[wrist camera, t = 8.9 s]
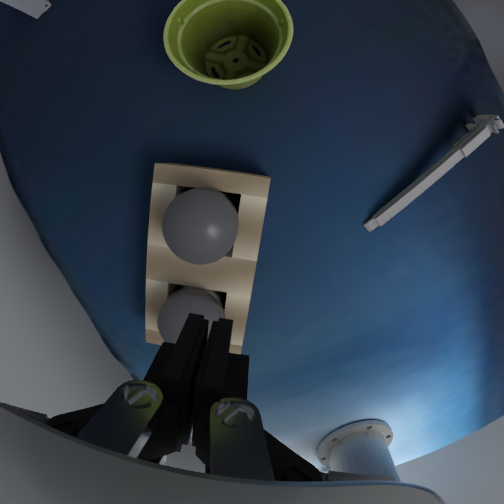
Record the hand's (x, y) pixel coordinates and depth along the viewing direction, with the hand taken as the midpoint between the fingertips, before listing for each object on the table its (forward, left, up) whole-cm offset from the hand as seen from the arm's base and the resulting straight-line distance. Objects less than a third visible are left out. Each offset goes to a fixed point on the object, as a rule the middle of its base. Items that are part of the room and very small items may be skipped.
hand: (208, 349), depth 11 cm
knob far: (-8, +3, -20) cm, 21 cm away
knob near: (+1, +3, -20) cm, 20 cm away
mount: (-3, +3, -20) cm, 20 cm away
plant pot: (+17, +3, -20) cm, 26 cm away
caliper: (+11, -19, -20) cm, 30 cm away
